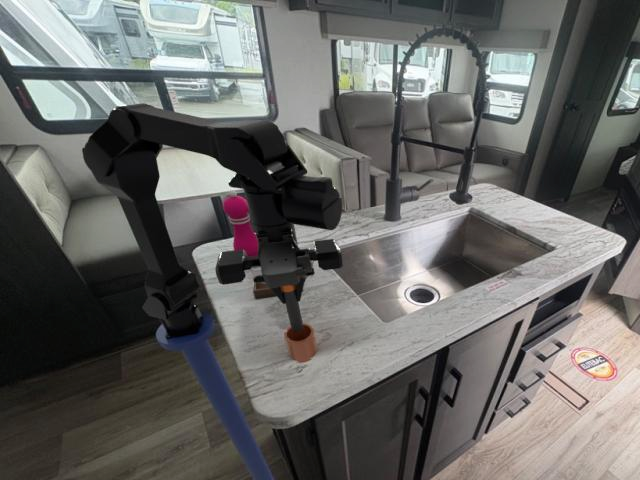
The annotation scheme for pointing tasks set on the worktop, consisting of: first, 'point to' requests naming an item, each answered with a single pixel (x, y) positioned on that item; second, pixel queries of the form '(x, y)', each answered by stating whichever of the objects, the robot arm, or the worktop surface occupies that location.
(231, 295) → the worktop surface
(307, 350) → the pen cup
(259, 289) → the tray
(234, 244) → the pepper mill
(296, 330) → the marker
